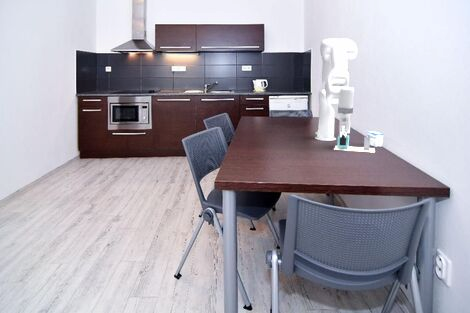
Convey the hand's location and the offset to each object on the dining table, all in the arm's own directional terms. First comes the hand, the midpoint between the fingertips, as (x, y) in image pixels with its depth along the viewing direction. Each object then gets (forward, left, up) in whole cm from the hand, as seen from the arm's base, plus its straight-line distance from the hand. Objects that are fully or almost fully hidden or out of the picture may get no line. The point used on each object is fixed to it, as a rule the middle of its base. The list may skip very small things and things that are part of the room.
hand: (343, 143), depth 200 cm
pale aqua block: (0, 0, -2) cm, 2 cm away
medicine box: (0, +22, -4) cm, 23 cm away
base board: (+4, +4, -4) cm, 7 cm away
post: (+8, +9, -2) cm, 12 cm away
